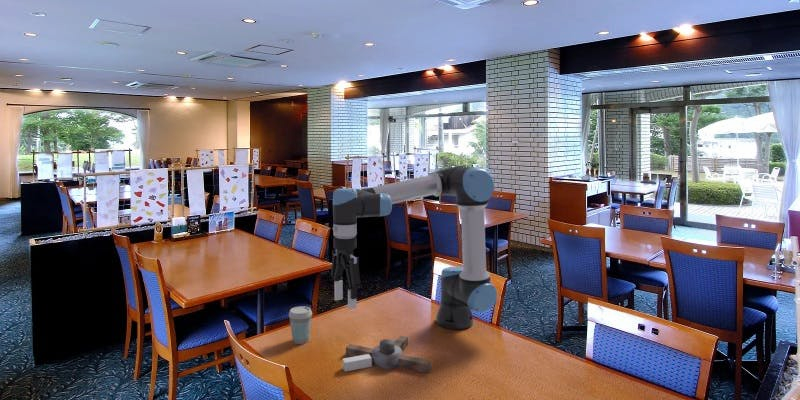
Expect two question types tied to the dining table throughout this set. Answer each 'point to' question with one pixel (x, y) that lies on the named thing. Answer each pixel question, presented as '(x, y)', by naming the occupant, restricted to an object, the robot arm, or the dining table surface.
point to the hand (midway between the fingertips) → (345, 303)
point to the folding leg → (357, 362)
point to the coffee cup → (300, 324)
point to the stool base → (390, 355)
